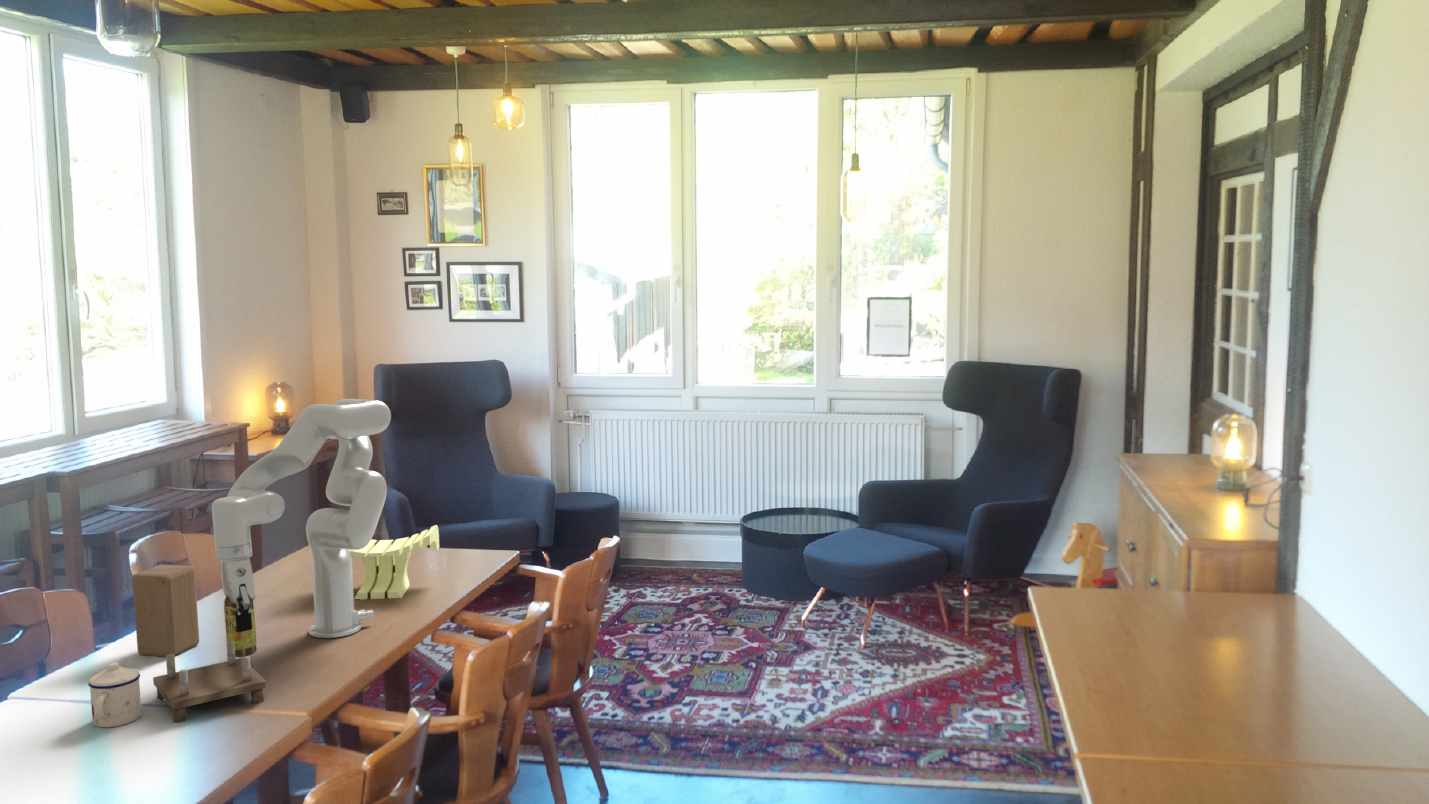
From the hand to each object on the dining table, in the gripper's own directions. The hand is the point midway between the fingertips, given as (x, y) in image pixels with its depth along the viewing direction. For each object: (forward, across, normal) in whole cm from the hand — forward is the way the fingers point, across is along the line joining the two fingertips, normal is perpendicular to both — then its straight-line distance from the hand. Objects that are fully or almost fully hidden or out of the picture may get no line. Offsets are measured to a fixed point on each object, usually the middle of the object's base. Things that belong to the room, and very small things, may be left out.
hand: (240, 625), depth 239 cm
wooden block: (+10, +24, +11) cm, 28 cm away
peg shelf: (+9, -16, +11) cm, 22 cm away
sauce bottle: (+7, 0, 0) cm, 7 cm away
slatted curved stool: (+12, +38, -48) cm, 63 cm away
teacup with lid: (+9, -16, +29) cm, 34 cm away
